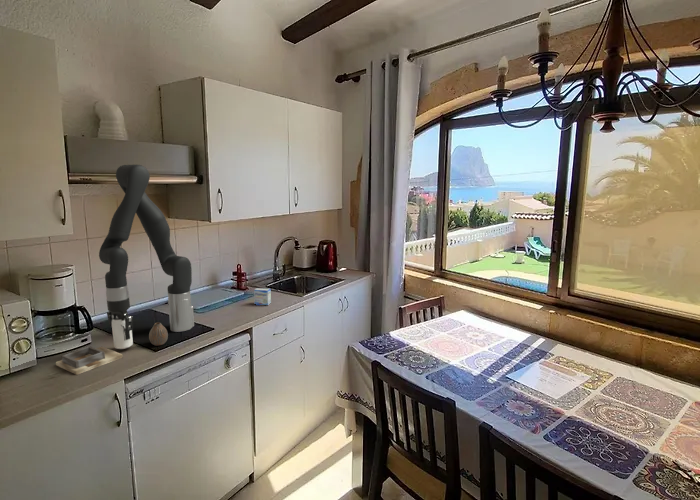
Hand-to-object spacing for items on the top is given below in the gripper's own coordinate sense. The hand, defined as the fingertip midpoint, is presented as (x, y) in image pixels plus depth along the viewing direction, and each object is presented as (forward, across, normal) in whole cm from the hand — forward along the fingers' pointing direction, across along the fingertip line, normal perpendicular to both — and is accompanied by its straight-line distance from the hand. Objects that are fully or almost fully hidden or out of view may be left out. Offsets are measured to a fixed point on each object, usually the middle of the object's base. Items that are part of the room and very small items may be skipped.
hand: (122, 338), depth 155 cm
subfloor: (+4, 0, +12) cm, 13 cm away
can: (+3, 0, 0) cm, 3 cm away
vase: (+5, -7, -11) cm, 14 cm away
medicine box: (+6, -7, -73) cm, 73 cm away
